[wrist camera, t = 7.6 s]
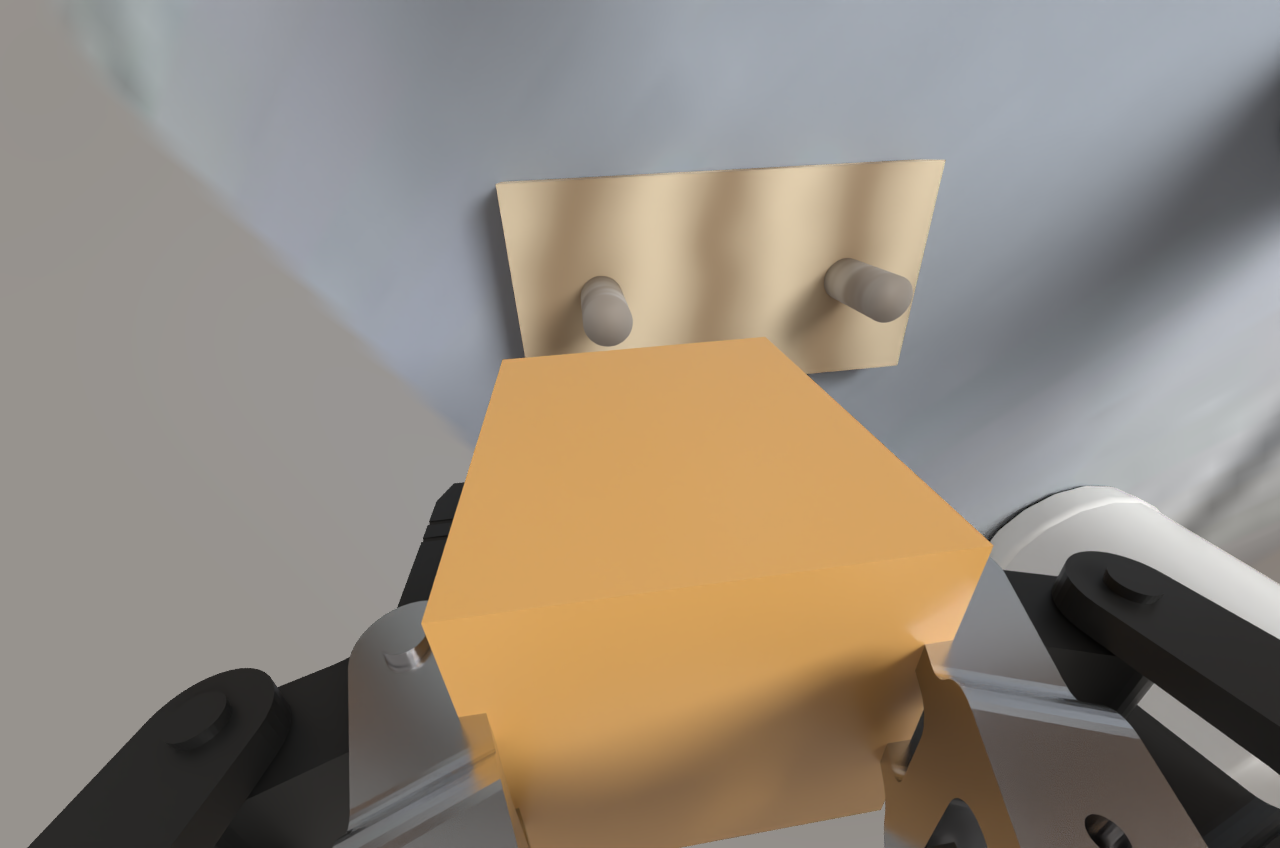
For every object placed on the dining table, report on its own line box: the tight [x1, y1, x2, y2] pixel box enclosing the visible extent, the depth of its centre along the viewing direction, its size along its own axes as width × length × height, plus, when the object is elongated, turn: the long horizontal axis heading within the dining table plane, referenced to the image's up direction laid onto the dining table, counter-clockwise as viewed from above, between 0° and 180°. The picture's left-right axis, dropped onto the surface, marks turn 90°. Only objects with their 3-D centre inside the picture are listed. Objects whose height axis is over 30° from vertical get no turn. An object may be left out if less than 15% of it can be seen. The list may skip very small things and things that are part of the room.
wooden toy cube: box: [421, 337, 994, 848], centre depth 8 cm, size 5×5×6 cm
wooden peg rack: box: [496, 160, 945, 374], centre depth 23 cm, size 20×10×6 cm, turn 92°
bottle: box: [989, 486, 1280, 809], centre depth 28 cm, size 14×14×28 cm
